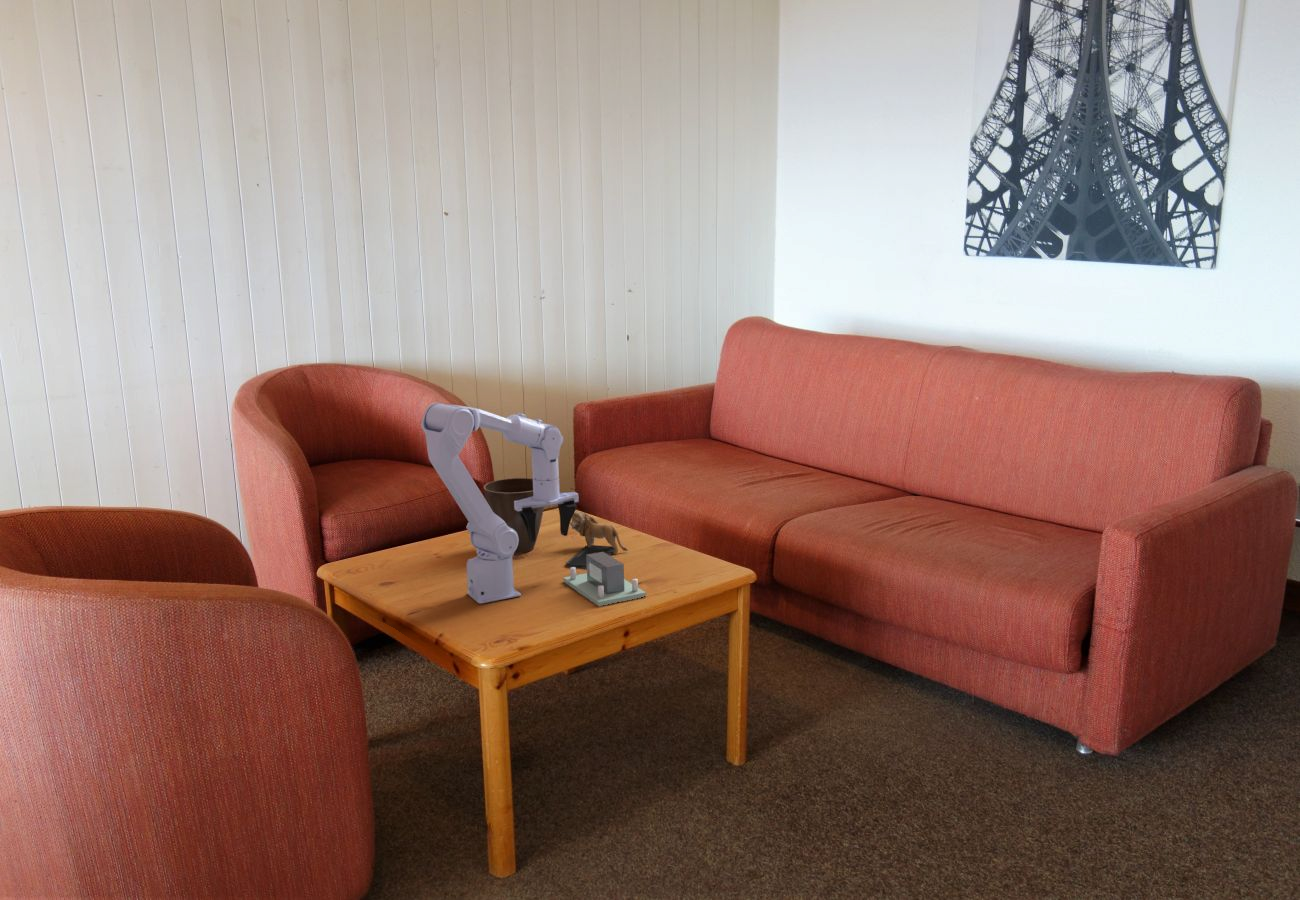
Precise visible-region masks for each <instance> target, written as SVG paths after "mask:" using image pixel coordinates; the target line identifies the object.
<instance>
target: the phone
mask: <svg viewBox="0 0 1300 900" xmlns="http://www.w3.org/2000/svg"><path fill="white" fill-rule="evenodd" d="M613 551H614V548H612V547H611V545H610V546H609V545H595V544H594V545H591V547H587V545H585V546H583V548H582V549H580V550H578V552H577V553H576V554H574V555H573V556H572V557H571V558H570V559H568V560H567V561H566V562H565V567H567V568H571V567H575V568H576V569H584V570H587V560H586V555H588V554H593V553H599V552H604V553H606V554H608V555H609V556H611V557H612V556H613V555H614V554H613Z"/></svg>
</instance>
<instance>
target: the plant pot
mask: <svg viewBox="0 0 1300 900" xmlns="http://www.w3.org/2000/svg"><path fill="white" fill-rule="evenodd" d="M483 490H484V498H485V500H486V501H487V503H488V504H489V506H490V508H491V509H492V511H493V512H494V513H495V514H496V515H497V516H499V517H500V518H501V519H502V520H504V521H505V523H506V524H507V526H508V527H510V528H512V529H514V530H515V531H516V532H517V534H518V538H519V542H518V546H517V549H516V550H515V552H514V554H522V553H524V554H525V553H527V552H531V551H533V550H534V549H535V545H536V542H537V540H538V537H539V532H540V529H541V524H542V519H543V516H544V515H543V514H544V510H545V509H544V508H545V506H544V507H537V508H532V510H533V512H534V513H536V519H535V535H536V540H535V541H533V542H532V541H531V540H529V536H528V533H527V529H526V527H525V524H524V522H523V520H522V518H521V516H520V514H519V513H518V511H516V510H515V509H514V501H517V500H522V499H525V498H529V497H533V478H529V477H518V478H517V477H516V478H515V477H512V478H502V479H496V480H494V481H490V482H488V483H486V484H484V485H483Z"/></svg>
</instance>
